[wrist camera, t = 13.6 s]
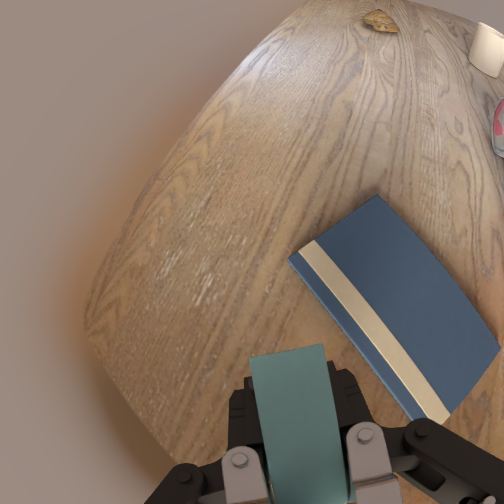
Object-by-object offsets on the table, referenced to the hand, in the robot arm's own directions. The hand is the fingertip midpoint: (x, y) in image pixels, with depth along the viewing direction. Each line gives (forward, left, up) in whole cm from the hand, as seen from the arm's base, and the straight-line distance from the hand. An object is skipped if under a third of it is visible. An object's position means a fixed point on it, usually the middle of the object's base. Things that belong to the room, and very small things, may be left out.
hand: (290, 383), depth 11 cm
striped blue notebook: (+10, -2, -7) cm, 13 cm away
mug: (+69, +16, -8) cm, 71 cm away
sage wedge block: (-1, -2, -4) cm, 4 cm away
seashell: (+53, +35, -8) cm, 64 cm away
